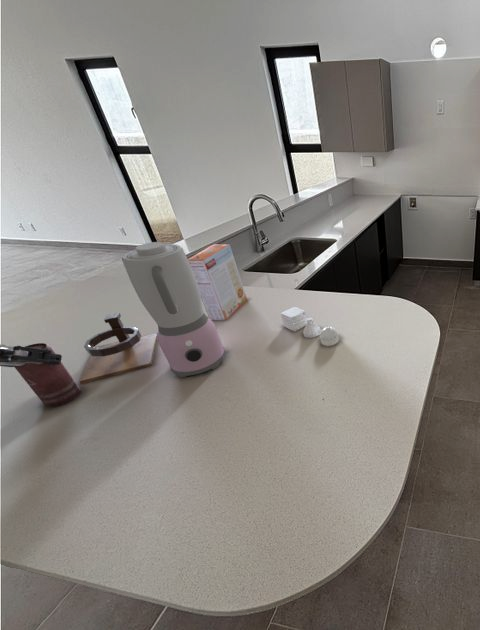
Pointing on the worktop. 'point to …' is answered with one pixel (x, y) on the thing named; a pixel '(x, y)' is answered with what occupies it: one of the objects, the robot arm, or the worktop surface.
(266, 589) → the worktop surface
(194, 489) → the worktop surface
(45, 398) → the can
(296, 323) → the container set
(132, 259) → the blender
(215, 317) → the cracker box
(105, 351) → the stand
